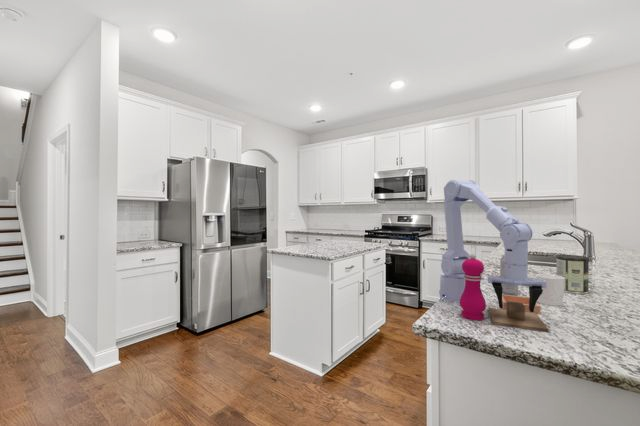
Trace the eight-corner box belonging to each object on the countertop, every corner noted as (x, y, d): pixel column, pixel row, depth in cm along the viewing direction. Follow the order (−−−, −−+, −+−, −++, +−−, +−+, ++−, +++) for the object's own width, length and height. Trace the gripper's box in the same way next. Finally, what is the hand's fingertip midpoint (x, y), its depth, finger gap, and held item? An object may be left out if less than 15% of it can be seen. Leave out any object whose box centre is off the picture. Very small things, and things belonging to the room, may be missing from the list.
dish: (503, 311, 98) (503, 302, 98) (499, 302, 107) (499, 294, 107) (540, 315, 94) (540, 306, 94) (532, 306, 103) (533, 297, 103)
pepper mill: (475, 324, 87) (476, 256, 87) (454, 316, 93) (454, 253, 93) (491, 320, 90) (491, 254, 90) (469, 312, 97) (469, 251, 96)
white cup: (569, 308, 100) (570, 279, 100) (543, 307, 102) (543, 278, 102) (556, 301, 108) (556, 274, 108) (532, 300, 109) (532, 273, 109)
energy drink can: (501, 294, 117) (501, 256, 117) (498, 290, 122) (499, 254, 122) (519, 296, 114) (520, 257, 114) (516, 292, 120) (516, 255, 120)
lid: (492, 324, 86) (492, 307, 86) (488, 310, 97) (488, 295, 97) (548, 331, 80) (548, 314, 80) (536, 315, 92) (536, 300, 92)
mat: (490, 326, 85) (490, 324, 85) (486, 311, 98) (486, 309, 98) (551, 335, 80) (551, 332, 80) (538, 317, 92) (538, 315, 92)
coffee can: (573, 287, 127) (574, 254, 127) (595, 294, 117) (596, 258, 117) (549, 287, 127) (549, 254, 127) (569, 294, 117) (569, 258, 117)
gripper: (489, 264, 88) (489, 310, 88) (549, 268, 82) (549, 317, 82) (487, 260, 94) (487, 303, 94) (542, 263, 88) (542, 309, 88)
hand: (515, 309), depth 89 cm, fingers open, 7 cm apart
